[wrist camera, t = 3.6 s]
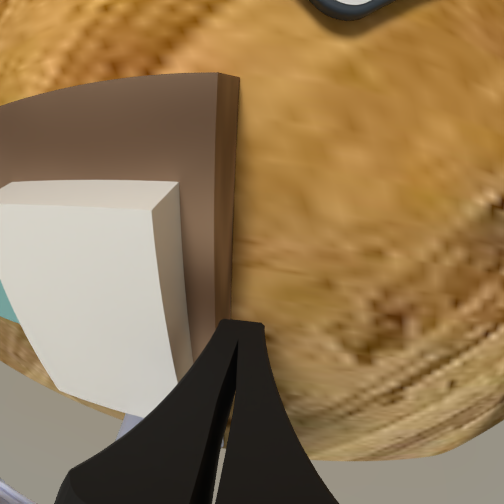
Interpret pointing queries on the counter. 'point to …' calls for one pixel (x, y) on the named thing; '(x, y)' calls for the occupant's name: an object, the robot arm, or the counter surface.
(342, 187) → the counter surface
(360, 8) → the phone case
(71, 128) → the block
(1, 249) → the tile
